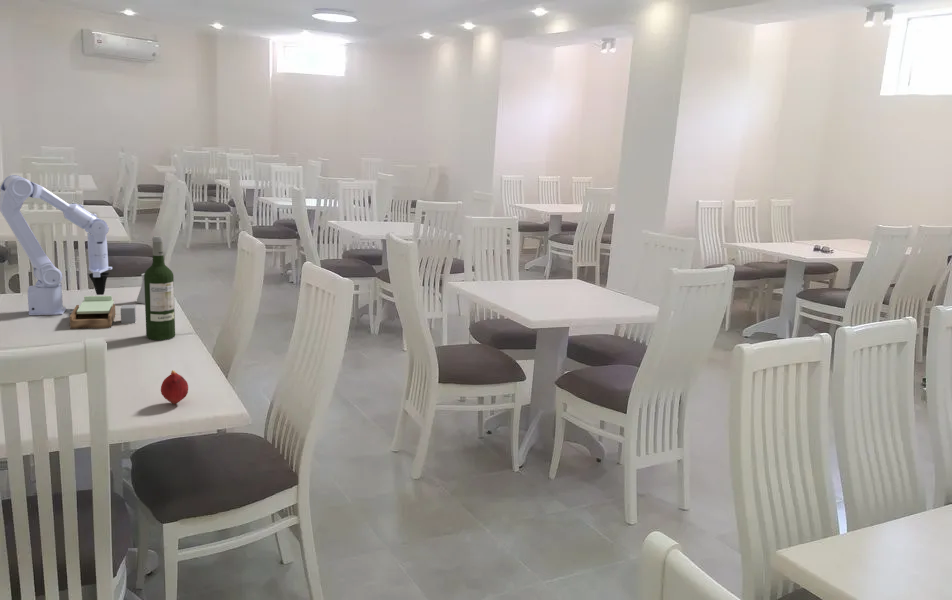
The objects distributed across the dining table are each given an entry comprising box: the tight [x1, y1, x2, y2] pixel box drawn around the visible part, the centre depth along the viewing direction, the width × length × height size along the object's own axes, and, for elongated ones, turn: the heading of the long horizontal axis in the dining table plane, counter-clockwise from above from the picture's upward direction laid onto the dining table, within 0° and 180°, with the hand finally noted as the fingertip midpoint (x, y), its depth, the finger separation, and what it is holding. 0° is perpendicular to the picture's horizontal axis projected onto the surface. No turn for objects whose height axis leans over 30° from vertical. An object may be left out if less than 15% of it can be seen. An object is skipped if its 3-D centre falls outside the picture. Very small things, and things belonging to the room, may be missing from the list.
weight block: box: [120, 304, 137, 325], centre depth 232 cm, size 4×4×5 cm
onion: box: [160, 370, 189, 405], centre depth 168 cm, size 6×6×8 cm
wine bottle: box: [143, 235, 176, 341], centre depth 215 cm, size 8×8×30 cm
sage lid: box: [77, 295, 115, 314], centre depth 235 cm, size 9×15×2 cm, turn 21°
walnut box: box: [69, 303, 116, 330], centre depth 229 cm, size 11×15×4 cm
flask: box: [136, 272, 145, 305], centre depth 257 cm, size 7×7×10 cm
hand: (100, 294), depth 246 cm, fingers closed
